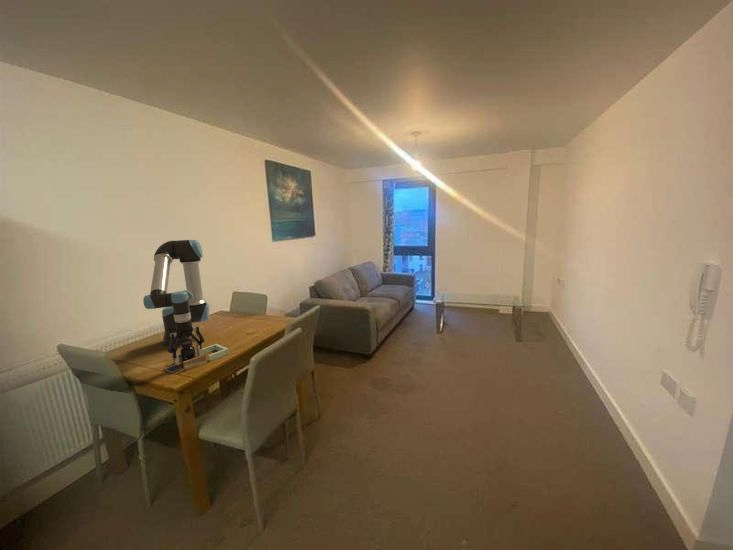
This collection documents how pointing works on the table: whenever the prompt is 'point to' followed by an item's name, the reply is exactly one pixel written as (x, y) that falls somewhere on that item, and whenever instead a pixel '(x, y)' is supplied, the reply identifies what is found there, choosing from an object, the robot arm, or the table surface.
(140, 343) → the table surface
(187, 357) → the supplement bottle
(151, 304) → the robot arm
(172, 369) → the mat
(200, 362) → the channel
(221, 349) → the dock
